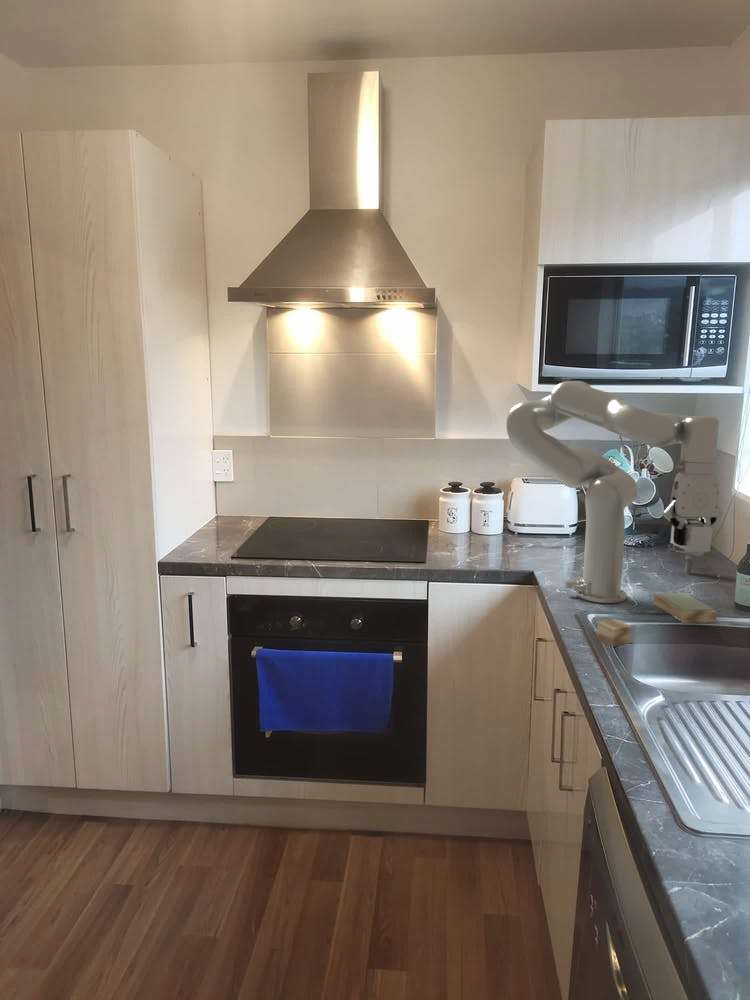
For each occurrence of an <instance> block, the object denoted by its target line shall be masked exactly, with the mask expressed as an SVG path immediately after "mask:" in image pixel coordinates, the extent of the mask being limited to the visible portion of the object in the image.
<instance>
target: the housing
mask: <svg viewBox="0 0 750 1000" xmlns="http://www.w3.org/2000/svg"><path fill="white" fill-rule="evenodd" d="M683 529H684V530H685V532H684V544H683V546H680V545H678V544H675V543H674V539H673V537H674V527H673V526H672V525H671V529H670V530H671V531H670V533H671V534H670V544H672V545H673V544H674V545H676V546H677V547H678V548H679V549H683V550H686V551H688V552H706V553H710V552H711V548H712V538H713V525H711V526H709V525H707V524H704V523H702V522H700V519H699V518H686V520H685V523H684V526H683Z"/></svg>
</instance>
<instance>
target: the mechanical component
mask: <svg viewBox="0 0 750 1000" xmlns="http://www.w3.org/2000/svg"><path fill="white" fill-rule="evenodd" d="M672 545H673V546H672V548H673V551H674V552H677V553H682V554H684V557H683V558H684V559H685V564H684V565H685V566H684V574H685V575H690V574H691V573H692V563H693V562H692V561H693V560H694V557H695V556H703V555H705V554H706V553H707V552H688V551H686V550H684V549H682V548H680V547H678V546H676V545H674V544H672Z"/></svg>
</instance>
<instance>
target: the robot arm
mask: <svg viewBox="0 0 750 1000" xmlns="http://www.w3.org/2000/svg"><path fill="white" fill-rule="evenodd" d="M550 392H551V393H550V394H549V395H548V396H545V397H543V398H542V399H538V400H525V401H522V402H519V403H517V404H515V405H514V406H513V407H511V409H510V411H508V414H507V418H506V424H505V425H506V432H507V436H508V438H509V439H508V440H510V442H511V444H512V446H513V447H514V448H515V449H516V450H517V451H518V452H519V453H520V454H521V455H522V456H523V457H526V458H527V459H528V460H530V461H531V462H533V463H534V464H535V465H537V466H538V467H539V468H541V470H543V471H544V472H546V473H547V474H549V475H550V476H551V477H553V478H554V479H556V480H557V481H558V482H559V483H561V484H562V485H564V486H565V487H567V488H571V489H578V488H581V487H584V488H586V491H585V495H584V497H585V498H584V508H585V536H584V537H585V540H584V553H583V567H582V569H583V570H582V571H583V572H582V574H583V575H582V576H578V579H576V580H574V581H573V580H564V583H563V587H564V589H572V590H573V591H575V595H576V596H577V597H578V598H581V600H582V599H583V600H585V601H589V602H594V603H598V604H599V603H601V604H616V603H622V602H624V601H625V600H627V593H626V592H625V590H623V589H622V575H623V562H624V550H625V549H624V548H625V534H626V533H625V531H626V527H625V526H626V524H625V523H626V522H625V521H626V520H625V508H627V507H628V506H630V505H632V504H633V503H634V502H635V501H636V499H637V497H638V492H639V489H638V483H637V482H636V480H635V478H633V476H632V475H630V474H629V473H628V472H626V471H625V470H624V469H622V468H620V467H619V466H618V465H616V464H615V463H613V462H611V461H610V460H609V459H607V458H606V457H604V456H603V455H602V454H599V453H597V452H595V451H593V450H590V449H577V450H575V449H573V448H571V447H569V446H568V445H566V444H564V443H563V442H561V441H560V440H559V439H558V438H556V437H555V436H552V435H550V434H548V433H546V432H545V431H547V430H550V429H553V428H555V427H558V426H559V425H560V424H563V423H566V422H567V421H569V420H571V419H573V418H574V419H577V420H580V421H582V422H586V423H588V424H592V425H595V426H598V427H601V428H603V429H604V430H607V431H609V432H612V433H613V434H616V435H618V436H620V437H623V438H626V439H628V440H631V441H634V442H638V443H640V444H642V445H647V446H649V447H655V448H663V447H667V446H670V445H676V444H677V445H678V444H681V445H680V447H681V449H680V458H679V459H680V460H679V462H678V463H676V464H675V465H674V469H675V470H676V471H678V473H676V475H675V478H674V481H673V485H672V488H671V489H672V490H671V493H670V495H671V496H670V503H669V505H668V506H667V507H666V508H665V509H664V510H663V512H662V513H661V514H662V515H661V516H663V517H664V518H665V519H666V520H667V521H668V522H669V523H670V524H671V527H672V526H673V527H674V537H673V539H674V543H675V544H678V545H680V546H683V544H684V532H685V530H684V529H683V526H684V523H685V520H686V518H699V519H700V522H702V523H704V524H707V525H709V526H713V524H715V523H716V522H717V520H719V518H721V517H722V516H723V515H724V512H723V511H722V509H721V507H720V483H719V478H718V477H719V476H718V475H716V474H715V469H716V468H715V467H716V457H717V448H718V447H717V446H718V438H719V437H718V435H719V425H720V423H719V420H718V418H717V417H716V416H711V415H710V416H709V415H683V414H679V413H671V412H668V413H661V414H658V413H654V412H651V411H648V410H645V409H641V408H638V407H636V406H633V405H631V404H628V403H626V402H625V401H624V400H623V398H621V397H620V396H618V395H616V394H614V393H610V392H608V391H603V390H600V389H597V388H593V387H592V386H591V385H590V384H588V383H587V382H585V381H583V380H566V381H561V382H560V383H558V384H556V385H555V386H554V388H553V389H552V390H551V391H550ZM673 515H675V516H673Z"/></svg>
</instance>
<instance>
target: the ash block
mask: <svg viewBox="0 0 750 1000" xmlns="http://www.w3.org/2000/svg"><path fill="white" fill-rule="evenodd" d="M596 624H597V625H596V637H595V638H596V640H598V641H600V642H602V643H604V644H606V645H608V646H610V647H612V648H614V647H619V646H624V645H629V644H631V643H632V642H631V640H632V628H633V626H632V625H630V624H628V623H626V622H624V621H621V620H619V619H617V618H613V619H607V620H602V621H601V620H600V621H597V623H596Z"/></svg>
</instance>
